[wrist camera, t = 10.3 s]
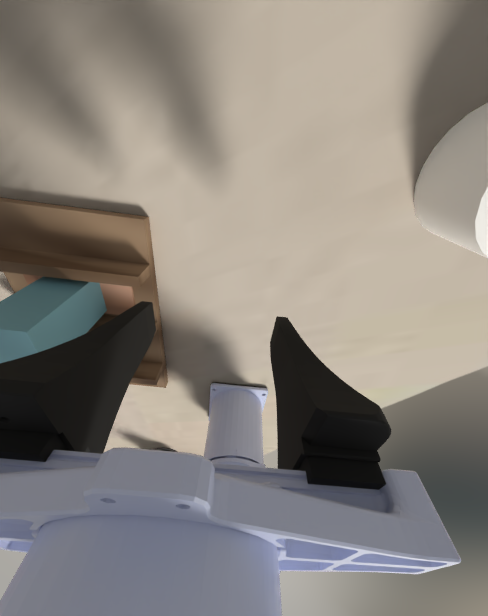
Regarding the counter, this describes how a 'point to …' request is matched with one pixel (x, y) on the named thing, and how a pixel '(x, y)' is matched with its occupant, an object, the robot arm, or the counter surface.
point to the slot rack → (86, 261)
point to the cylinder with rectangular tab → (457, 185)
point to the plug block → (47, 315)
